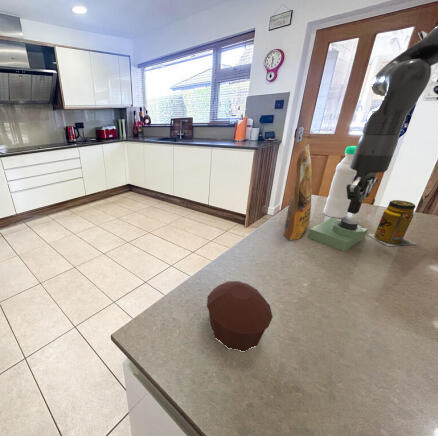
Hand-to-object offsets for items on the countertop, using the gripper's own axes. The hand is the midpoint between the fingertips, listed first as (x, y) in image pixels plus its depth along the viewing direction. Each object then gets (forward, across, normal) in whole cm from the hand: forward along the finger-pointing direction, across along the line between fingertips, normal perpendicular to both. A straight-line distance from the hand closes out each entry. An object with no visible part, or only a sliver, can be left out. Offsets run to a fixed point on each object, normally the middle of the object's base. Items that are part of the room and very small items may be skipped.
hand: (352, 212), depth 68 cm
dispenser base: (+10, 0, +2) cm, 10 cm away
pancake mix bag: (+10, -5, +12) cm, 16 cm away
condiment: (+10, +12, -8) cm, 17 cm away
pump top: (+5, 0, 0) cm, 5 cm away
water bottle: (+10, +18, +10) cm, 23 cm away
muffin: (+10, -53, -4) cm, 54 cm away
